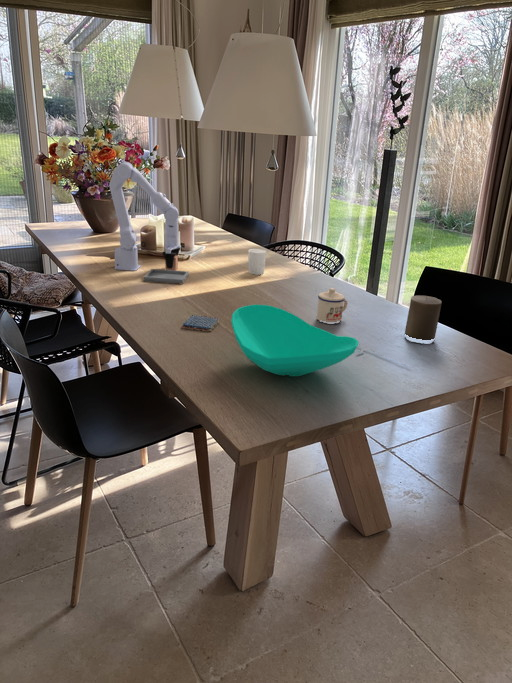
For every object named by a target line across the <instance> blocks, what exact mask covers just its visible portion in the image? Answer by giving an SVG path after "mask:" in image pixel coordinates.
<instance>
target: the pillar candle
mask: <svg viewBox="0 0 512 683" xmlns="http://www.w3.org/2000/svg"><path fill="white" fill-rule="evenodd" d="M409 302H410V303H409V306H408V307H409V308H408V314H407V319H406V323H405V324H406V325H405V328H404V335H405V334H406V335H408V336H409V337H412V338H416V339H422V340H431V339H434V338H435V339H436V335H437V328H438V325H439V324H438V323H439V318H440V312H441V308H442V300H441V299H438V298H437V297H433V296H428V295H412V296H411V297H410V301H409Z"/></svg>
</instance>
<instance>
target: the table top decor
mask: <svg viewBox="0 0 512 683" xmlns="http://www.w3.org/2000/svg"><path fill="white" fill-rule="evenodd" d="M231 326H232V329H233V333H234V336H235V340H236V341H237V343H238V345H239V347H240V348H241V351H242V353H244V356H246V358H247V359H248V360H249V361H250V362H252V363H254V364H255V365H256V366H258V367H259V368H260V369H262V370H263V371H267V372H269V373H272V374H274V375H278V376H284V377H285V375H289V376H288V377H300V376H304V375H308V374H310V373H314V372H318V371H319V370H320V371H321V370H323V369H327V368H329V367H332V366H334V365H337V364H338V363H339V364H340V363H341V362H343V361H344V360H346V359H347V358H349V357H350V356H352V355H353V354H354V353H356V351H357V348H358V344H359V345H360V343H359V341H358V340H357V338H356V337H352V336H348V335H347V336H346V335H345V336H343V335H336V334H333V333H332V332H330V331H327V330H324V329H322V328H319V327H316V326H314V325H311V324H310V323H308V322H306V321H305V320H303V319H302V318H300V317H298V316H297V315H296V314H293V313H291V312H289V311H287V310H284V309H283V308H279V307H276V306H272V305H268V304H250V305H245V306H241V307H239V308H237V309H235V311H234V312H233V313H232V314H231Z"/></svg>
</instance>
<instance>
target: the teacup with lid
mask: <svg viewBox="0 0 512 683" xmlns="http://www.w3.org/2000/svg"><path fill="white" fill-rule="evenodd" d="M317 297H318V301H317V302H318V303H317V312H316V319H317V318H318V319H319V320H322V321H326V322H337V321H340V320H341V321H342V317H343V313H344V312H345V311H346V309H347V306H348V300H347V299H346V298H345V296H344V295H343V294H341V293H339V292H337V291H336V289H335V288H333V287H330V288H329V289H328V290H326V291H323V292H320V293H319V294H318V296H317Z"/></svg>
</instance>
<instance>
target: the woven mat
mask: <svg viewBox="0 0 512 683" xmlns="http://www.w3.org/2000/svg"><path fill="white" fill-rule="evenodd" d="M219 321H220V319H219V318H216V317H214V318H213V317H211V316H209V317H208V316H202V315H201V316H199V315H193V314H192V315H190V316H189V317H187V319H186V320H185V321H184V322H183V324H182V326H181V328H182V329H186V328H187V329H186V330H193V329H194V330H195V331H200V330H202V331H201V332H210V331H211V332H212V331H213V330H214V329H215V328H216V327H217V326H218V324H219ZM189 327H190V328H189ZM203 329H204V330H203ZM211 332H210V333H211Z"/></svg>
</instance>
